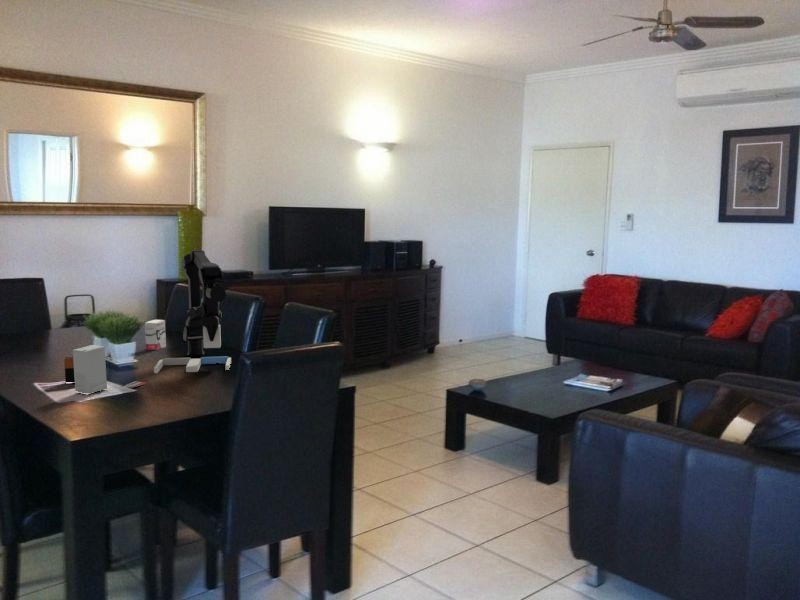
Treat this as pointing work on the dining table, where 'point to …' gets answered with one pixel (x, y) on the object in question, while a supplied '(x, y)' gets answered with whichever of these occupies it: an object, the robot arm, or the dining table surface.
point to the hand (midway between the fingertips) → (212, 340)
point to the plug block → (216, 342)
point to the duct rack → (193, 362)
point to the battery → (69, 368)
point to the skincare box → (90, 369)
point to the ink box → (155, 334)
